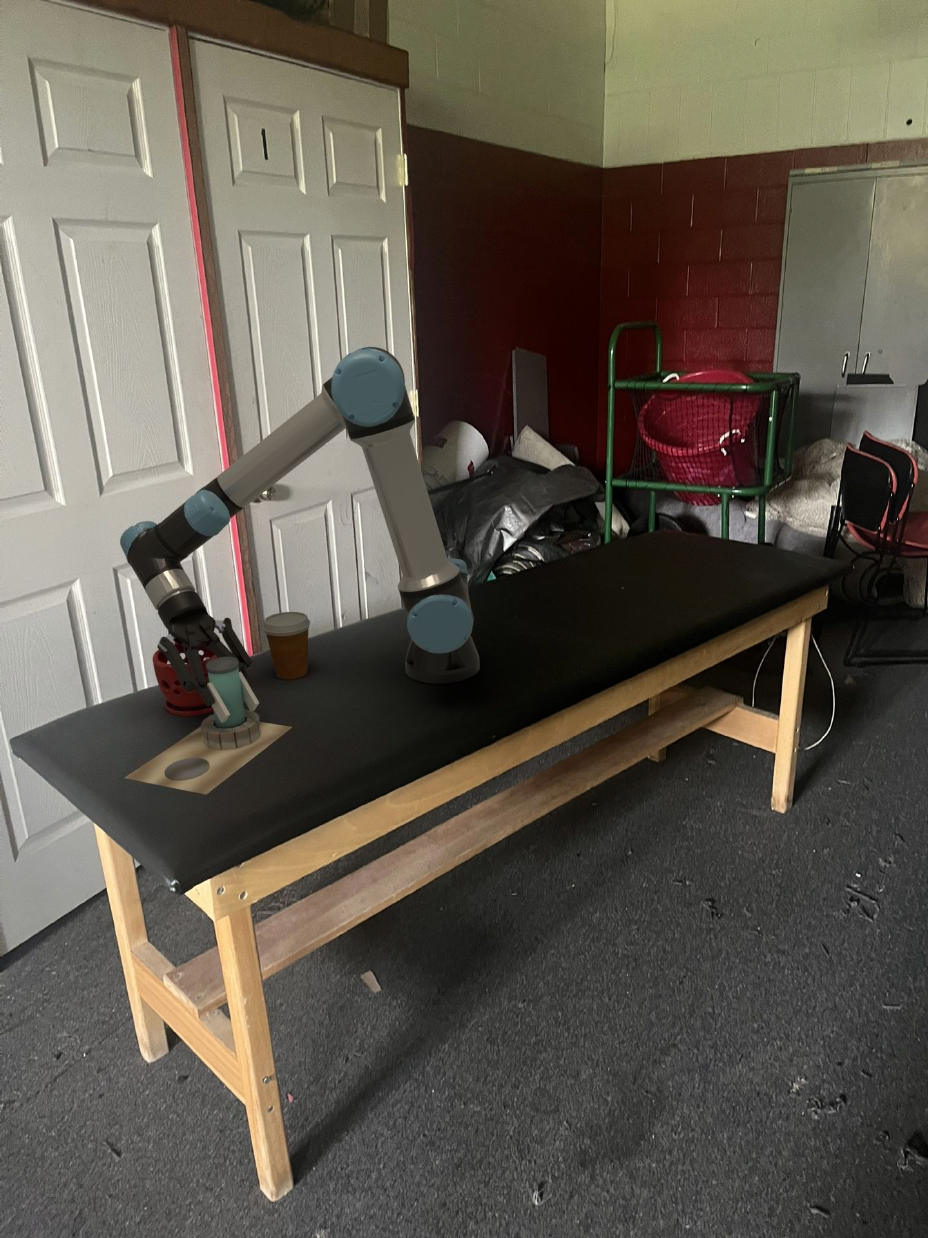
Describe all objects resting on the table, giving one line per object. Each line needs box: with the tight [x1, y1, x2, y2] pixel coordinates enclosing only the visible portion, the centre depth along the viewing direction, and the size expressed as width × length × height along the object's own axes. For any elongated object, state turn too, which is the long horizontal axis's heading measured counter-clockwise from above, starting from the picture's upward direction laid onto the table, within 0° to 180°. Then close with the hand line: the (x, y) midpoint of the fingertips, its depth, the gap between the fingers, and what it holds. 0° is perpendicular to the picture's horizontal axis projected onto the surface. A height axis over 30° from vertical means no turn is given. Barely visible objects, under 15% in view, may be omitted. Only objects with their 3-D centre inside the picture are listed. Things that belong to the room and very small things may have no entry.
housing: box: [124, 708, 293, 796], centre depth 148 cm, size 16×24×4 cm, turn 158°
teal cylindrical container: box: [206, 657, 246, 729], centre depth 150 cm, size 5×5×13 cm
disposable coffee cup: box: [262, 611, 311, 680], centre depth 179 cm, size 10×10×12 cm
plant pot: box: [152, 642, 218, 717], centre depth 165 cm, size 13×13×12 cm
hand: (240, 712), depth 148 cm, fingers closed on teal cylindrical container, 5 cm apart
